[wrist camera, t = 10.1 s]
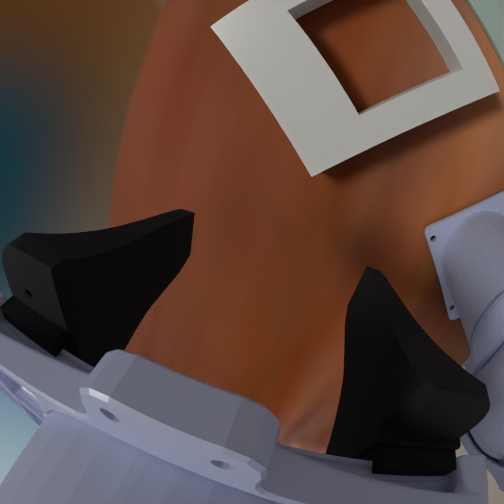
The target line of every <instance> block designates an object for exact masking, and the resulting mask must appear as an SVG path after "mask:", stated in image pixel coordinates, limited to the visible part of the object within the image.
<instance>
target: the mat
mask: <svg viewBox="0 0 504 504" xmlns="http://www.w3.org/2000/svg"><path fill="white" fill-rule="evenodd" d="M466 1H467V3H468V4H469V6H470V8H471V9H472V11H473V12H474V14H475V15H476V17H477V19H478V20H479V22H480V24H481V25H482V27H483V29H484V31H485V32H486V34H487V36H488V38H489V40H490V41H491V43H492V45H493V47H494V49H495V51H496V53H497V55H498V57H499V59H500V61H501V63H502V65H503V68H504V0H466Z"/></svg>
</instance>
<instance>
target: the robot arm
mask: <svg viewBox="0 0 504 504" xmlns="http://www.w3.org/2000/svg"><path fill="white" fill-rule="evenodd" d="M194 214H195V213H193V212H190V211H187V210H183V209H179V210H174V211H170V212H167V213H163V214H160V215H157V216H153V217H150V218H147V219H144V220H140V221H136V222H133V223H129V224H126V225H122V226H118V227H113V228H108V229H103V230H97V231H88V232H80V233H67V234H43V233H23V234H22V235H20V236H19V237H17V238H16V239H14V240H13V241H11V242H10V243H9V244H7V245H6V246H5V247H4V248H3V252H2V263H3V268H4V271H5V274H6V277H7V280H8V283H9V286H10V289H11V292H12V294H13V296H12V297H11V298H10V299H8V300H7V298H6V297H5V295H3V293H2V292H0V389H1V390H2V391H3V392H4V393H5V394H6V395H7V396H8V397H9V398H10V399H11V400H12V401H13V402H14V403H15V404H16V405H17V406H18V407H19V408H20V409H21V410H23V411H24V412H25V413H26V414H27V415H28V416H29V417H30V418H31V419H33V420H34V421H35V422H36V423H37V424H38V425H40V427H39V428H38V429H37V431H36V432H35V434H34V435H33V437H32V438H31V439H30V441H29V442H28V444H27V445H26V447H25V448H24V450H23V451H22V453H21V454H20V456H19V457H18V458H17V460H16V462H15V463H14V465H13V466H12V468H11V469H10V471H9V472H8V474H7V475H6V477H5V478H4V480H3V481H2V483H1V485H0V504H488V483H487V470H486V469H488V470H489V472H490V473H491V474H492V475H493V477H494V478H495V480H496V482H497V484H498V486H499V488H500V490H501V491H504V191H502V192H500V193H498V194H495V195H493V196H491V197H489V198H487V199H485V200H483V201H481V202H479V203H476V204H474V205H472V206H470V207H468V208H466V209H464V210H461V211H459V212H457V213H455V214H453V215H450V216H448V217H446V218H444V219H441V220H439V221H437V222H435V223H432V224H430V225H428V226H427V227H426V228H425V230H424V233H425V236H426V239H427V242H428V245H429V248H430V251H431V254H432V257H433V260H434V264H435V267H436V270H437V274H438V277H439V281H440V284H441V288H442V292H443V296H444V300H445V304H446V308H447V312H448V316H449V319H451V320H455V319H457V318H460V320H461V323H462V326H463V329H464V332H465V335H466V338H467V341H468V344H469V348H470V351H471V353H470V356H469V358H468V360H467V361H466V363H465V364H464V365H465V369H466V370H465V369H463V368H462V367H461V366H460V365H459V364H457V363H456V362H455V361H454V360H453V359H451V358H450V357H449V356H448V355H447V354H446V353H445V352H444V351H443V350H442V349H441V348H440V347H439V346H438V345H437V344H436V343H435V342H434V341H433V340H432V339H431V338H430V337H429V336H428V335H427V333H426V332H425V331H424V330H423V329H422V328H421V326H420V325H419V324H418V323H417V321H416V320H415V319H414V317H413V316H412V315H411V313H410V312H409V311H408V309H407V308H406V307H405V305H404V304H403V302H402V301H401V299H400V298H399V296H398V295H397V293H396V292H395V290H394V289H393V287H392V286H391V284H390V283H389V282H388V280H387V279H386V277H385V276H384V275H383V273H382V272H381V271H380V270H377V269H374V268H370V267H366V269H365V271H364V273H363V275H362V277H361V279H360V281H359V283H358V285H357V288H356V290H355V292H354V294H353V296H352V298H351V300H350V302H349V304H348V308H347V314H346V321H345V349H344V375H343V383H342V389H341V395H340V400H339V405H338V409H337V414H336V418H335V422H334V426H333V430H332V434H331V437H330V441H329V444H328V448H327V451H326V454H323V453H318V452H313V451H308V450H304V449H299V448H295V447H291V446H287V445H283V444H279V443H277V440H278V437H279V433H280V421H279V420H278V419H277V418H276V417H275V416H274V415H273V414H272V413H271V412H270V411H269V410H268V409H267V408H266V407H265V406H263V405H261V404H259V403H257V402H254V401H252V400H250V399H248V398H246V397H244V396H241V395H238V394H235V393H232V392H229V391H227V390H224V389H221V388H218V387H215V386H213V385H210V384H207V383H205V382H202V381H200V380H197V379H194V378H192V377H189V376H187V375H184V374H182V373H180V372H177V371H175V370H172V369H170V368H168V367H165V366H163V365H161V364H158V363H156V362H154V361H152V360H150V359H147V358H145V357H143V356H141V355H138V354H135V353H131V352H128V351H125V348H126V346H127V344H128V343H129V341H130V339H131V337H132V336H133V334H134V332H135V330H136V329H137V327H138V325H139V324H140V322H141V321H142V319H143V317H144V316H145V314H146V313H147V311H148V310H149V309H150V307H151V306H152V305H153V303H154V302H155V301H156V300H157V299H158V297H159V296H160V295H161V294H162V293H163V291H164V290H165V289H166V288H167V287H168V285H169V284H170V283H171V282H172V281H173V279H174V278H175V277H176V276H177V274H178V273H179V272H180V270H181V269H182V267H183V266H184V264H185V262H186V261H187V259H188V257H189V256H190V252H191V242H192V232H193V223H194ZM431 236H435V239H433V240H431V239H430V238H431ZM452 305H454V306H453V307H450V306H452ZM460 441H461V443H462V445H463V446H464V448H465V449H466V451H467V452H468V453H469V455H463V456H459V457H457V458H456V454H455V450H457V449H459V448H460V445H461V444H460Z"/></svg>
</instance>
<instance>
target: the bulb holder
mask: <svg viewBox="0 0 504 504" xmlns="http://www.w3.org/2000/svg"><path fill="white" fill-rule="evenodd" d="M331 1H333V0H249V1H247V2H246V3H244V4H242V5H241V6H239V7H238V8H236V9H235V10H233V11H232V12H230V13H229V14H227V15H226V16H225V17H223V18H222V19H220V20H219V21H217V22H216V23H215V24H213V25H212V26H211V28H212V29H213V31H214V32H215V33H216V34H217V36H218V37H219V38H220V40H221V41H222V42H223V44H224V45H225V46H226V48H227V49H228V50H229V52H230V53H231V54H232V56H233V57H234V58H235V60H236V61H237V62H238V64H239V65H240V67H241V68H242V69H243V71H244V72H245V74H246V75H247V76H248V78H249V79H250V81H251V82H252V84H253V85H254V87H255V88H256V89H257V91H258V92H259V94H260V95H261V97H262V98H263V100H264V101H265V103H266V104H267V106H268V107H269V109H270V110H271V112H272V113H273V115H274V116H275V118H276V120H277V121H278V123H279V124H280V126H281V127H282V129H283V130H284V132H285V134H286V135H287V137H288V138H289V140H290V142H291V143H292V145H293V147H294V148H295V150H296V151H297V153H298V155H299V156H300V158H301V160H302V161H303V163H304V165H305V167H306V168H307V170H308V172H309V173H310V175H311V177H312V176H314V175H316V174H318V173H320V172H322V171H324V170H326V169H328V168H330V167H332V166H334V165H336V164H338V163H340V162H342V161H344V160H346V159H349V158H351V157H353V156H355V155H357V154H359V153H361V152H363V151H365V150H367V149H369V148H371V147H373V146H376V145H378V144H380V143H382V142H384V141H386V140H388V139H390V138H393V137H395V136H397V135H399V134H401V133H403V132H406V131H408V130H410V129H412V128H414V127H416V126H419V125H421V124H423V123H425V122H428V121H430V120H432V119H434V118H437V117H439V116H441V115H443V114H446V113H448V112H450V111H453V110H455V109H457V108H460V107H462V106H464V105H467V104H469V103H471V102H474V101H476V100H479V99H481V98H483V97H486V96H488V95H491V94H493V93H496V92H498V91H500V90H499V88H498V85H497V83H496V81H495V78H494V76H493V74H492V72H491V70H490V68H489V65H488V63H487V61H486V59H485V57H484V55H483V53H482V52H481V50H480V48H479V46H478V44H477V42H476V40H475V39H474V37H473V35H472V33H471V32H470V30H469V28H468V27H467V25H466V23H465V22H464V20H463V18H462V17H461V15H460V14H459V12H458V11H457V9H456V8H455V6H454V5H453V3H452V2H451V0H405V1H406V2H407V3H408V5H409V6H410V7H411V9H412V10H413V12H414V13H415V14H416V16H417V17H418V19H419V20H420V22H421V23H422V25H423V26H424V28H425V29H426V31H427V32H428V34H429V36H430V37H431V39H432V40H433V42H434V44H435V45H436V47H437V49H438V51H439V52H440V54H441V56H442V58H443V59H444V61H445V63H446V65H447V67H448V69H449V70H450V72H448V73H446V74H443V75H441V76H438V77H436V78H433V79H431V80H429V81H426V82H424V83H422V84H419V85H417V86H415V87H412V88H410V89H408V90H406V91H403V92H401V93H399V94H397V95H395V96H392V97H390V98H388V99H386V100H384V101H382V102H379V103H377V104H375V105H373V106H371V107H369V108H367V109H365V110H363V111H361V112H359V113H358V112H357V111H356V109H355V107H354V106H353V104H352V102H351V100H350V99H349V97H348V95H347V94H346V92H345V91H344V89H343V87H342V86H341V84H340V83H339V81H338V79H337V78H336V76H335V75H334V73H333V72H332V70H331V69H330V67H329V66H328V64H327V63H326V61H325V60H324V58H323V57H322V56H321V54H320V53H319V51H318V50H317V48H316V47H315V46H314V44H313V43H312V42H311V40H310V39H309V37H308V36H307V35H306V33H305V32H304V31H303V30H302V28H301V27H300V26H299V24H298V23H297V22H296V21H295V19H297V18H299V17H301V16H303V15H305V14H307V13H309V12H310V11H312V10H314V9H316V8H318V7H320V6H322V5H324V4H327V3H329V2H331Z"/></svg>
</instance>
